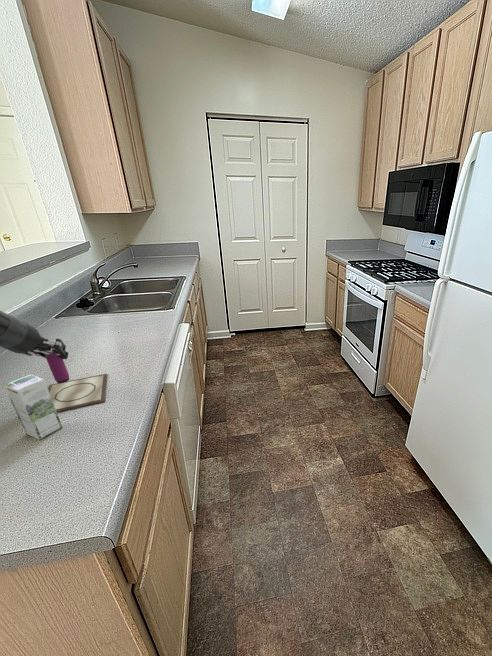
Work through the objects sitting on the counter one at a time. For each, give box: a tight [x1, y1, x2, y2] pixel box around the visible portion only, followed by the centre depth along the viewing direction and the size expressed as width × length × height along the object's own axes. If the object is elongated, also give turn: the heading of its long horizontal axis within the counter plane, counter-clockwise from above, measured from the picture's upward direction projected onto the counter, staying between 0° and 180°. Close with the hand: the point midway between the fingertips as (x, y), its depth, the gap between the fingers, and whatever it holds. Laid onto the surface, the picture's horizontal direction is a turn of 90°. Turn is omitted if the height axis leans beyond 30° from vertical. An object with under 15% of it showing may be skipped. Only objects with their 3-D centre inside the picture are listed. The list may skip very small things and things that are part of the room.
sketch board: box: [47, 373, 108, 414], centre depth 99 cm, size 16×18×1 cm
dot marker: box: [44, 349, 70, 383], centre depth 95 cm, size 4×4×11 cm
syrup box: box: [3, 374, 63, 441], centre depth 80 cm, size 6×6×14 cm
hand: (58, 356), depth 96 cm, fingers closed on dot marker, 3 cm apart
